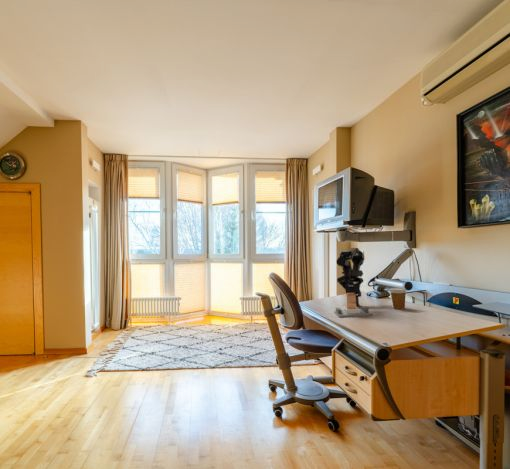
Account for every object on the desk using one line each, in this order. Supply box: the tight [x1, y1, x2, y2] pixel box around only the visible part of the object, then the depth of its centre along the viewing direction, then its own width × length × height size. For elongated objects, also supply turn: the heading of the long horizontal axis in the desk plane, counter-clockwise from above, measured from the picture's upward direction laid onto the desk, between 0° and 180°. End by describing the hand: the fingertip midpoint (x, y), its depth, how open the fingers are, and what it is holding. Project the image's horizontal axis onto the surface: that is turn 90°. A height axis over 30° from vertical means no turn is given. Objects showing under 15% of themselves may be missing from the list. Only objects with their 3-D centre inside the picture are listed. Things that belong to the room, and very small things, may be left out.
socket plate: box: [334, 306, 372, 318], centre depth 207 cm, size 14×18×4 cm
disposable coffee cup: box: [389, 287, 407, 310], centre depth 216 cm, size 10×10×12 cm
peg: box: [345, 292, 357, 309], centre depth 208 cm, size 4×4×11 cm
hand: (353, 293), depth 217 cm, fingers open, 9 cm apart
